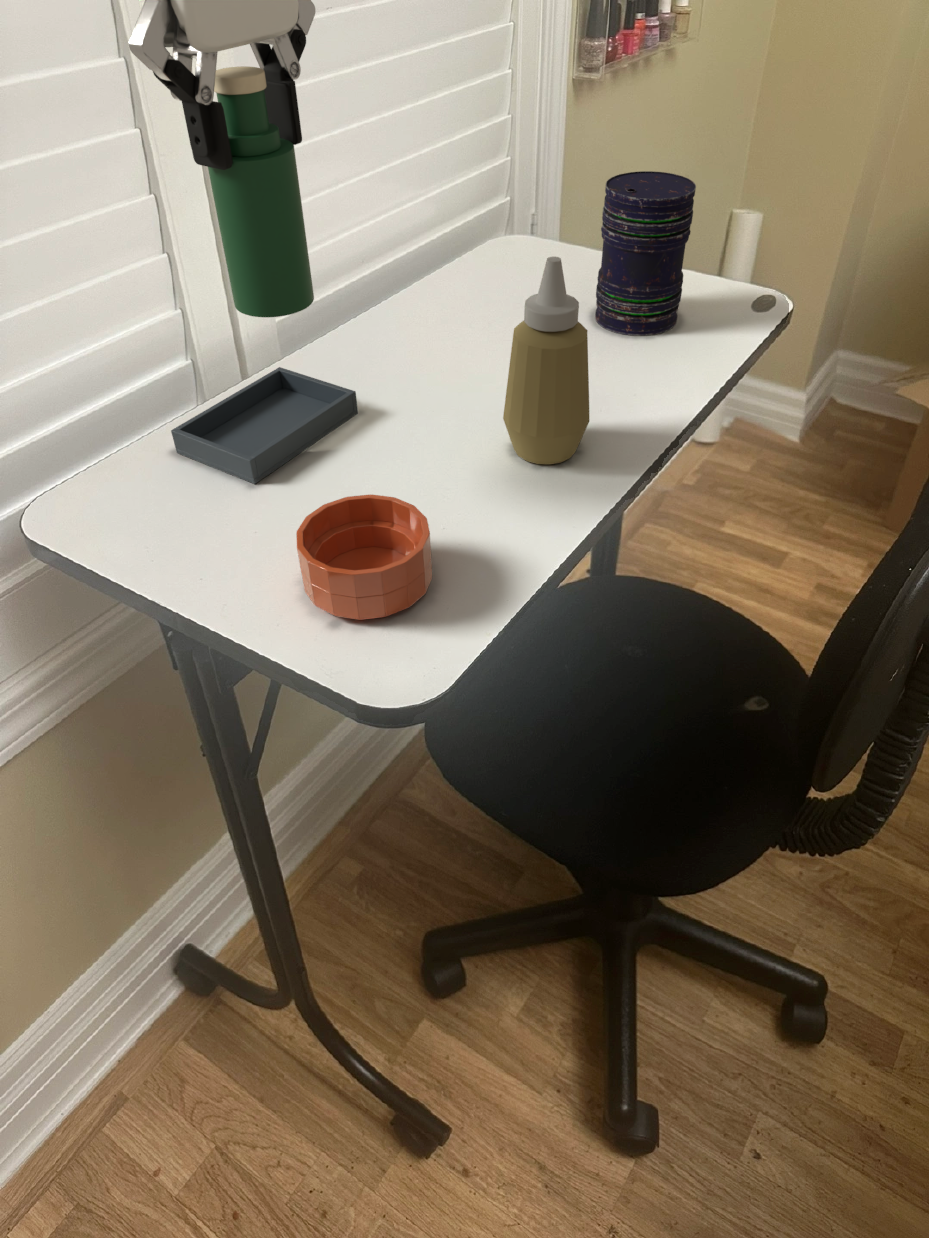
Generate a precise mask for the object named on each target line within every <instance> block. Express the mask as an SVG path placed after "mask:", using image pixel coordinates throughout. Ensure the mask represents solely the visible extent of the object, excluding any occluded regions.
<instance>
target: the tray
mask: <svg viewBox="0 0 929 1238" xmlns="http://www.w3.org/2000/svg"><path fill="white" fill-rule="evenodd" d="M358 414H359V411H358V401H357V392H356V390H353V389H349V388H346V387H343V386H340V385H337V384H333V383H331V382H329V381H325V380H321V379H319V378H315V377H312V376H309V375H305V374H303V373H299V372H297V371H293V370H291V369H287V368H283V367H281V366H279V367H277V368H275V369H273V370H272V371H270V372H269V373H266V374H265V375H263V376H262V377H260V378H258V379H256V380H255V381H253V382H251V383H250V384H248V385H246V386H245V387H243V388H241V389H239V390H238V391H236V392H234V393H233V394H231V395H229V396H227V397H226V398H224V399H222V400H220V401H219V402H217V403H215V404H214V405H212V406H210V407H208V408H206V409H204V410H203V411H202V412H200V413H198V414H197V415H194V416H193V417H191V418H190V419H188V420H186V421H185V422H183V423H181V424H179V425H178V426H176V427H174V428H172V429H171V430H170V433H171V436H172V440H173V444H174V447H175V448H174V449H175V452H176V454H179V455H181V456H183V457H186V458H188V459H191V460H193V461H196V462H197V463H201V464H203V465H206V466H208V467H211V468H213V469H216V470H217V471H221V472H223V473H226V474H228V475H231V476H234V477H235V478H238V479H240V480H244V481H246V482H248V483H251V484H254V485H255V484H257V483H259V482H260V481H261V480H263V479H265V478H267V476H270V475H271V474H272V473H273V472H275V471H276V470H278V469H279V468H281V467H282V466H283V465H285V464H286V463H288V462H289V461H291V460H292V459H294V458H295V457H297V456H298V455H299V454H301V453H303V452H304V451H305V450H307V449H309V448H310V447H311V446H313V445H314V444H316V443H317V442H319V441H320V440H322V439H323V438H325V437H326V436H328V435H329V434H330V433H332V432H334V430H336V429H337V428H339V427H340V426H342V425H343V424H345V423H346V422H348V421H349V420H350V419H352V418H354V417H355V416H356V415H358Z"/></svg>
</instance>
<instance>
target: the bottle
mask: <svg viewBox="0 0 929 1238" xmlns="http://www.w3.org/2000/svg"><path fill="white" fill-rule="evenodd" d="M266 86H267V85H266V79H265V72H264V70H263V69H261V68H260V67H257V66H245V65H244V66H229V67H223V68H218V69H216V75H215V86H214V93H215V94H216V98H217V99H216V100H217V102H221V103H222V106H223V109H224V115H225V120H226V126H227V132H228V137H229V143H230V149H231V154H232V160H233V164H232V167H231V168H229V169H226V170H221V169H216V168H212V167H207V170H208V175H209V176H208V177H209V181H210V186H211V191H212V196H213V201H214V207H215V212H216V217H217V223H218V227H219V232H220V238H221V243H222V248H223V253H224V258H225V263H226V269H227V274H228V279H229V284H230V289H231V293H232V294H231V296H232V299H233V304H234V305H233V306H234V308H235V309H236V310H237V311H238V312H239V313H241V314H243V315H245V316H248V317H249V316H250V317H253V318H254V317H255V318H281V317H286V316H290V315H293V314H294V315H295V314H296V313H300V312H302V311H304V310H306V309H307V308H309V307H310V306H311V305H312V304H313V302H314V301H315V295H314V294H315V293H314V286H313V280H312V271H311V265H310V264H311V263H310V257H309V249H308V241H307V234H306V227H305V225H306V224H305V219H304V211H303V204H302V195H301V188H300V182H299V181H300V180H299V172H298V165H297V159H296V150H295V145H293V143H291V142H290V141H288V140H285V139H281V138H280V135H279V128H278V127H277V126H276V125H274V124H271V123H269V119H268V113H267V106H266V99H265V92H264V89H265V88H266Z"/></svg>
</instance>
